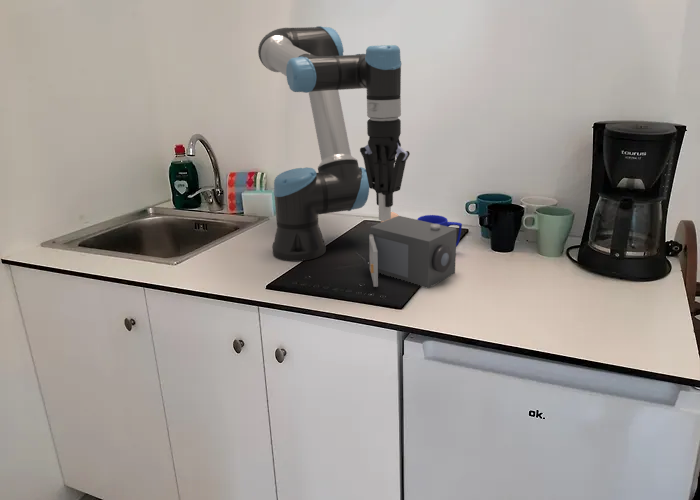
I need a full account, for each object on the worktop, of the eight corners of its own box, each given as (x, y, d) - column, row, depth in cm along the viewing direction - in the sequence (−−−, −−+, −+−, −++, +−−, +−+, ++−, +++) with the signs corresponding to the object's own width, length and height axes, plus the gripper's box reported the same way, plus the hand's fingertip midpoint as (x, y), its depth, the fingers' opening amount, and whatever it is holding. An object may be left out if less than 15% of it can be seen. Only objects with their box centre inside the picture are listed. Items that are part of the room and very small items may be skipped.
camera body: (370, 270, 149) (369, 223, 145) (398, 257, 158) (398, 212, 153) (433, 290, 137) (435, 239, 132) (460, 274, 145) (462, 226, 141)
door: (367, 269, 148) (366, 234, 145) (373, 269, 148) (372, 234, 145) (371, 288, 137) (370, 250, 134) (377, 287, 137) (377, 250, 134)
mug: (460, 260, 154) (461, 224, 151) (415, 258, 157) (415, 223, 153) (460, 249, 162) (462, 215, 158) (418, 247, 164) (418, 214, 161)
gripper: (351, 118, 130) (353, 218, 138) (396, 122, 121) (396, 228, 129) (372, 114, 135) (373, 211, 143) (417, 118, 126) (416, 220, 135)
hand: (384, 219), depth 136 cm, fingers closed
